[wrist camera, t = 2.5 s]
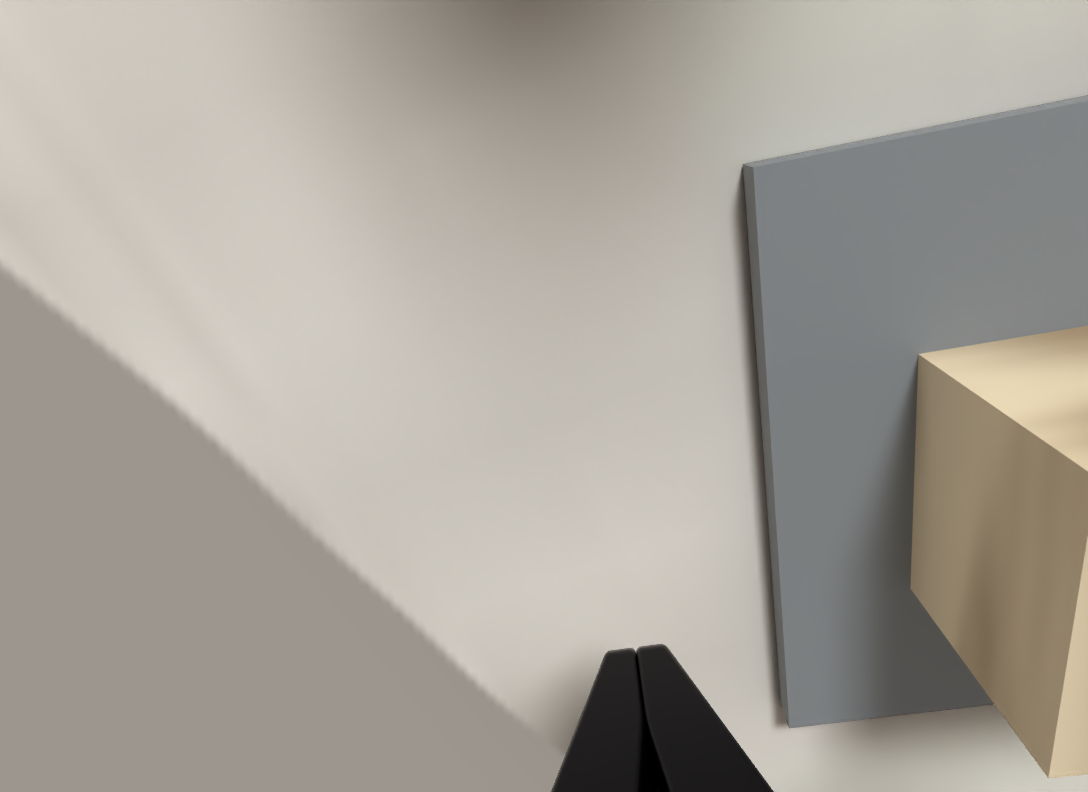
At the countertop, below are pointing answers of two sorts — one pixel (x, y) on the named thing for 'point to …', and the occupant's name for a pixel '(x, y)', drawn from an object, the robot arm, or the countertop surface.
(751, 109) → the countertop surface
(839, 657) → the runner mat
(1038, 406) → the beech block
